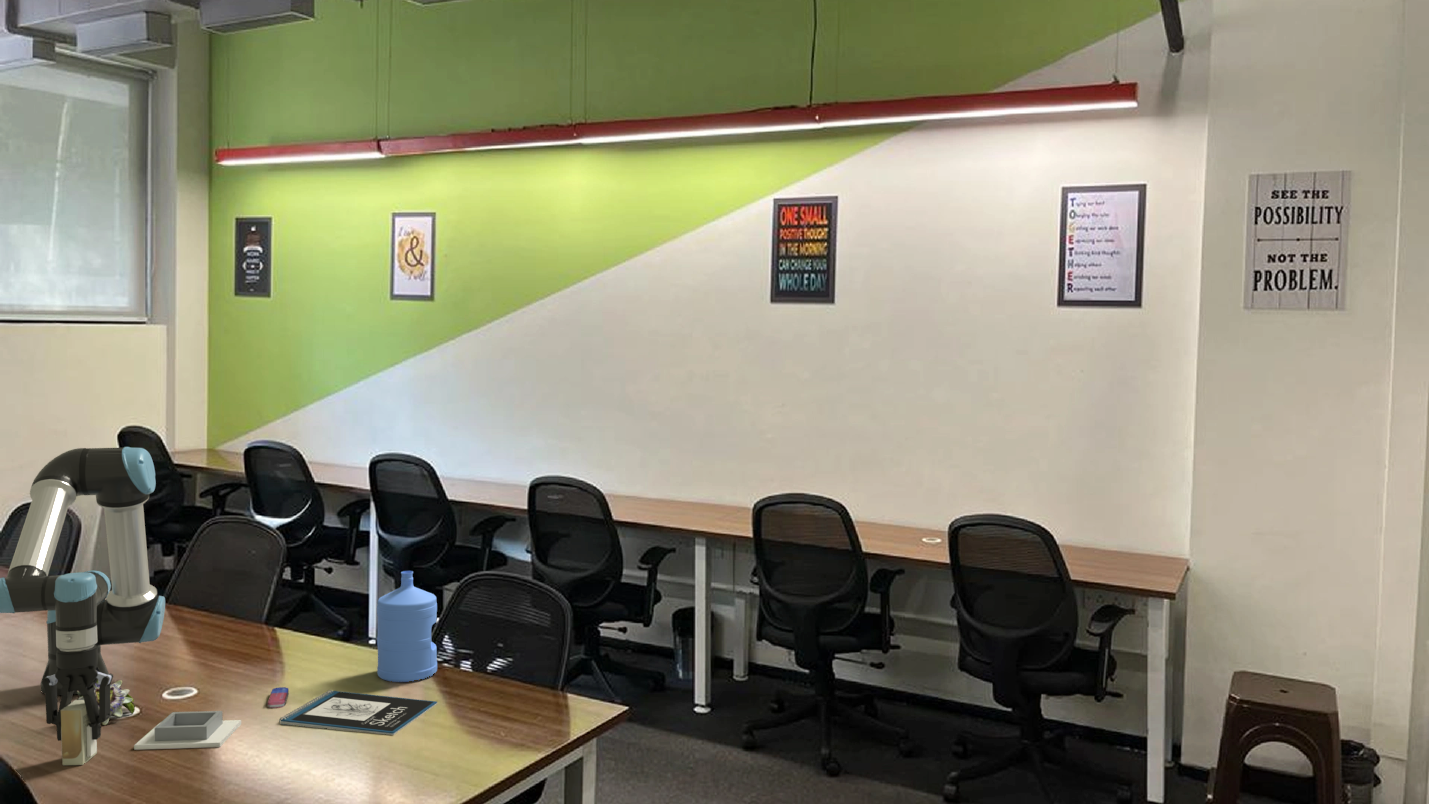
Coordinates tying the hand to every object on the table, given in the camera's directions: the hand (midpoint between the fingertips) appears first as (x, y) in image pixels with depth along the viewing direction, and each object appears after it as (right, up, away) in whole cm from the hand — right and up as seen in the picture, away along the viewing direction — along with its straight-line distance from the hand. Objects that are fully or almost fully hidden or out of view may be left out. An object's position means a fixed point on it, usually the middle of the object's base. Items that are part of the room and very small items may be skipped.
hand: (79, 754), depth 224 cm
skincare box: (0, -1, 0) cm, 1 cm away
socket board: (+17, -1, +14) cm, 22 cm away
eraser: (+26, 0, +38) cm, 47 cm away
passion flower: (-9, 0, +24) cm, 26 cm away
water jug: (+52, +1, +60) cm, 80 cm away
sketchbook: (+50, -1, +30) cm, 58 cm away
